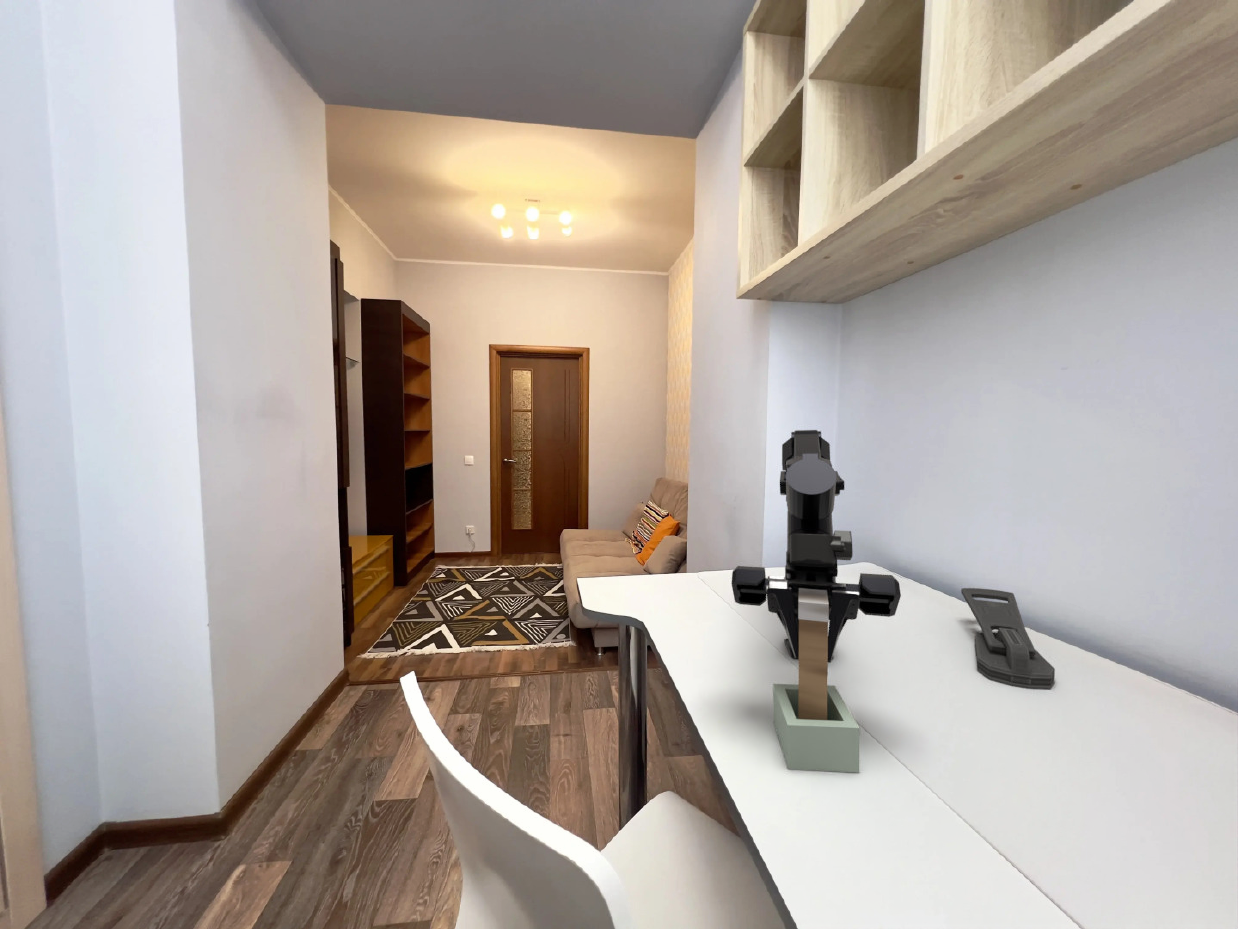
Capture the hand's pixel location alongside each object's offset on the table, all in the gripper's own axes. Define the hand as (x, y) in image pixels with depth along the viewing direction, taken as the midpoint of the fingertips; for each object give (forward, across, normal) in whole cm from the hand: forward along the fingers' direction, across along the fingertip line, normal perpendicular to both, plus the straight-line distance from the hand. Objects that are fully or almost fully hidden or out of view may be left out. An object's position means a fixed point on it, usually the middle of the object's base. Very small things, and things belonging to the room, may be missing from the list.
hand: (812, 659), depth 57 cm
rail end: (+4, 0, +6) cm, 7 cm away
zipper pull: (-17, +29, +33) cm, 47 cm away
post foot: (+7, 0, +9) cm, 11 cm away
